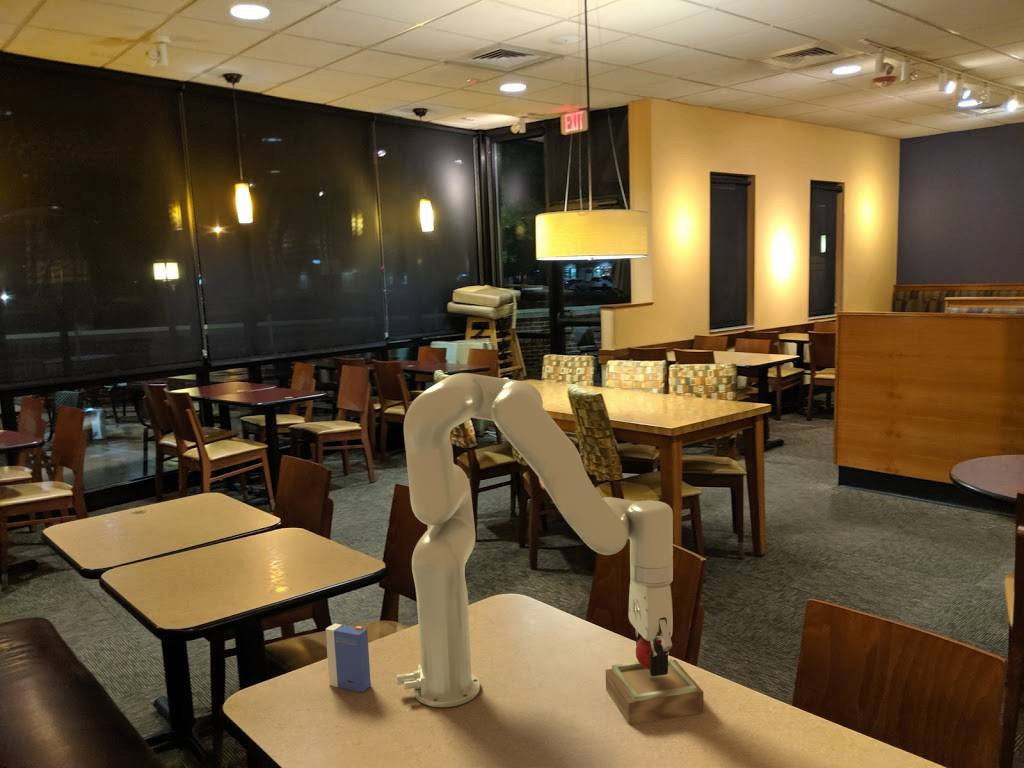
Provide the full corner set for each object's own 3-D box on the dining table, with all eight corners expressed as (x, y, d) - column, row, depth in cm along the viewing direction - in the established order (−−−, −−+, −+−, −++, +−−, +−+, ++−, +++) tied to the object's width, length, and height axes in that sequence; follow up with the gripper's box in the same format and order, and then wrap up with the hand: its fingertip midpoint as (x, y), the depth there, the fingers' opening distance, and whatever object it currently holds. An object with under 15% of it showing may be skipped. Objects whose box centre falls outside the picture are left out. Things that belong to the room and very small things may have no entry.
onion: (643, 681, 140) (643, 638, 139) (630, 665, 145) (630, 624, 144) (673, 675, 141) (673, 633, 140) (659, 660, 147) (659, 620, 146)
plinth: (628, 724, 137) (628, 698, 136) (605, 689, 149) (605, 665, 148) (703, 712, 140) (703, 687, 139) (675, 679, 151) (675, 655, 151)
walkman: (371, 685, 153) (367, 627, 151) (362, 692, 150) (358, 633, 149) (337, 678, 156) (333, 621, 154) (329, 685, 154) (324, 627, 152)
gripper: (614, 556, 148) (615, 646, 151) (650, 592, 132) (650, 693, 134) (652, 552, 150) (652, 641, 152) (692, 586, 133) (691, 686, 136)
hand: (651, 664), depth 143 cm, fingers closed on onion, 5 cm apart
